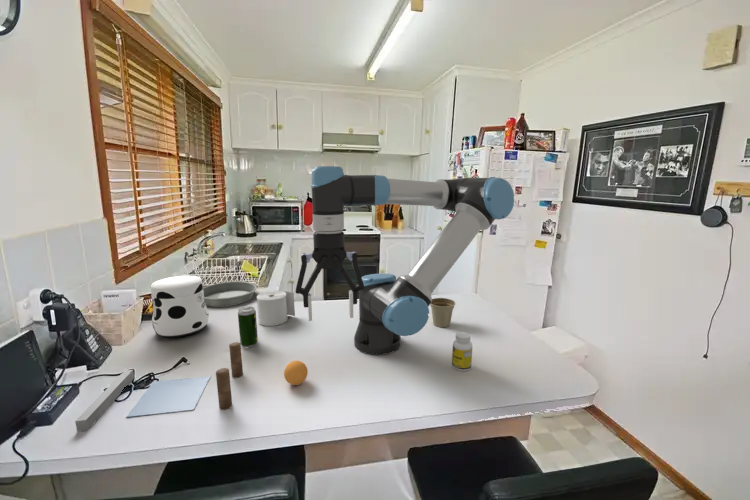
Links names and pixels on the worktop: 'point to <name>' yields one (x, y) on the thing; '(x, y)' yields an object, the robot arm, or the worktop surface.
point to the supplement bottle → (462, 352)
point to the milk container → (178, 306)
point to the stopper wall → (104, 401)
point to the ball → (295, 372)
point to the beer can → (247, 326)
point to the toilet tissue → (275, 307)
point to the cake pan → (216, 289)
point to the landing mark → (170, 396)
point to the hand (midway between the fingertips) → (331, 317)
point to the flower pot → (442, 311)
